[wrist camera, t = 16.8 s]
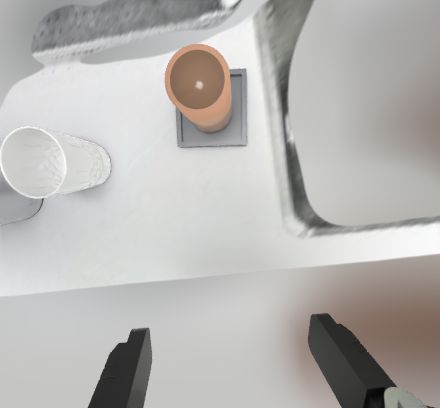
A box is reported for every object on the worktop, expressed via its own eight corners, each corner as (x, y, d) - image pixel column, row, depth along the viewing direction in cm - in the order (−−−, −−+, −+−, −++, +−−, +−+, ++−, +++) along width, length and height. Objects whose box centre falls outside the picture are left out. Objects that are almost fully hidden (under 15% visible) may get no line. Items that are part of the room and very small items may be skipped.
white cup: (59, 174, 35) (-11, 177, 25) (77, 128, 34) (12, 112, 24) (103, 199, 35) (51, 211, 25) (123, 154, 34) (77, 148, 24)
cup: (190, 134, 32) (166, 116, 21) (188, 89, 31) (162, 45, 20) (232, 132, 31) (230, 113, 20) (232, 87, 30) (229, 41, 19)
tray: (180, 147, 33) (177, 146, 31) (177, 77, 31) (174, 72, 30) (245, 145, 32) (246, 144, 31) (245, 73, 31) (246, 68, 29)
